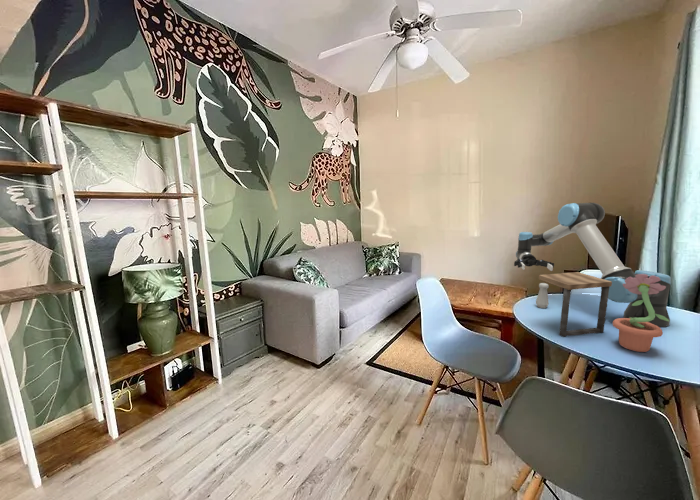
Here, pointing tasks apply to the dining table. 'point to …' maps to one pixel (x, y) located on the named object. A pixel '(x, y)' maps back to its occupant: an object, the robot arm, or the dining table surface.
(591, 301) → the dining table surface
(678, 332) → the dining table surface
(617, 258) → the robot arm
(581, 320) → the dining table surface
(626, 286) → the decorative flower
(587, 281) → the wooden side table
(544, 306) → the salt shaker
